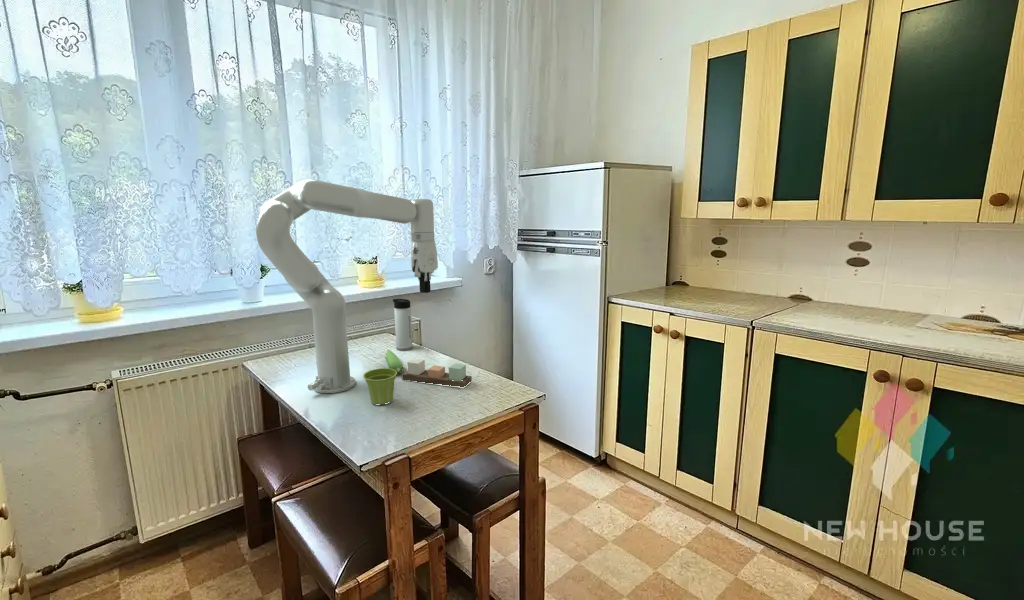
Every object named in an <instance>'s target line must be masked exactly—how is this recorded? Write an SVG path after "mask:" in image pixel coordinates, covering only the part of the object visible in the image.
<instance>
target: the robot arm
mask: <svg viewBox="0 0 1024 600" xmlns="http://www.w3.org/2000/svg"><path fill="white" fill-rule="evenodd" d="M311 210H313V211H319V212H325V213H330V214H331V213H332V214H335V215H336V214H338V215H342V216H349V217H354V218H366V219H368V218H369V219H375V220H382V221H388V222H393V223H396V224H397V223H398V224H403V225H405V224H409V223H410V237H411V238H410V241H411V249H410V250H411V251H410V266H411V271H412V273H414V275H413V277H415V278H417V279H418V282H419V292H420V293H425V294H428V293H430V292H431V290H432V289H431V280H432V274H433V273H435V271H437V269H438V268H439V261H438V251H437V245H436V240H435V222H434V221H435V218H434V202H433V200H432V199H430V198H429V199H428V198H427V199H426V198H417V199H416V198H415V199H412V200H411V199H407V198H403V197H398V196H393V195H388V194H384V193H379V192H378V193H377V192H372V191H368V190H365V189H361V188H358V187H357V188H356V187H353V186H347V185H342V184H336V183H333V182H327V181H322V180H316V179H310V178H309V179H302V180H300V181H298V182H296V183H295V184H294V185H292V186H291V187H289V188H287V189H286V190H284V191H283V192H282V191H281V193H280V194H277V195H276V196H274V197H273V198H270V199H268V200H266V201H265V202H264V203H263V204H261V206H260V208H259V209H258V220H257V223H256V228H255V235H256V240H257V243H258V245H259V248H260V250H261V251H262V253H263V254H264V255H265V256H266V258H267V259H268V260H269V261H270V262H271V264H272V265H273V266H274V267H275V268H276V270H277V271H278V272H279V273H280V274H281V276H282V277H284V280H285V282H287V284H288V285H289V286H290V287H291V288H292V289H293V290H294V292H296V294H298V296H299V297H300V298H301V299H302V300H303V301H304V303H306V305H307V306H308V307H309V308H310V309H311V312H312V313H311V314H312V328H313V339H314V340H313V341H314V348H315V349H314V350H315V359H316V370H317V376H315V380H314V381H313V382H311V383H309V384H308V385H307V389H308V390H309V391H311V392H312V391H315V392H316V393H322V394H337V393H341V392H344V391H345V392H346V391H348V390H350V389H352V388H353V387H355V385H356V383H357V382H356V378H354V377H353V376H351V371H350V358H349V357H350V356H349V346H348V343H349V342H348V334H347V333H348V332H347V304H346V303H347V302H346V300H345V298H344V295H343V294H342V293H341V292H340V291H339V290H338V289H336V288H335V286H333V285H332V283H330V282H329V280H328V279H327V278H326V277H325V275H324V274H323V273H322V272H321V271H320V270H319V268H318V267H317V265H316V264H315V263H314V262H313V261H311V259H309V257H307V255H306V254H305V253H304V251H302V250H301V248H300V247H299V246H298V244H297V243H296V242H295V241H294V240H293V238H292V236H291V233H290V231H291V230H290V228H291V226H292V224H293V222H294V221H296V220H298V219H299V218H300V217H302V216H303V215H305V214H306V213H308V212H310V211H311Z"/></svg>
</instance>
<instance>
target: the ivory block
mask: <svg viewBox="0 0 1024 600" xmlns="http://www.w3.org/2000/svg"><path fill="white" fill-rule="evenodd" d="M425 362H426V361H425V359H421V358H411V359H410V360H409V361H407V371H408V374H413V375H416V376H419V375H420V374H421V373H423V372H424V371H425V370H426V365H425Z"/></svg>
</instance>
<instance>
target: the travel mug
mask: <svg viewBox="0 0 1024 600" xmlns="http://www.w3.org/2000/svg"><path fill="white" fill-rule="evenodd" d="M392 302H393V307H394V308H393V311H394V314H393V315H394V329H395V330H394V331H395V345H396V347H395V348H396V350H397V351H401V352H406V351H410V350H412V349H413V348H414V347H413V346H414V345H413V326H412V325H413V324H412V308H411V300H410V299H405V298H392Z"/></svg>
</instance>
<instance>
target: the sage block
mask: <svg viewBox="0 0 1024 600" xmlns="http://www.w3.org/2000/svg"><path fill="white" fill-rule="evenodd" d="M448 373H449V380H454V381H455V380H456V381H459V382H462V381H461V380H463V379H464V378H465V377H466V376H467V366H466V364H463V363H462V364H461V363H453V364H452V365H450V366H449V367H448Z"/></svg>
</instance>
